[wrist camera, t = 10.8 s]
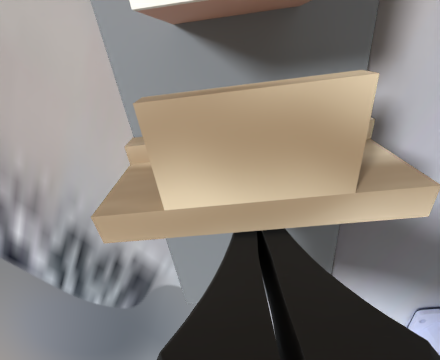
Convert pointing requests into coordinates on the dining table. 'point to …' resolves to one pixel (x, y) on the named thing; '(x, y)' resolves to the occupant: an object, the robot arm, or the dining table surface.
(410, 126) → the dining table surface
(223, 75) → the slate mat
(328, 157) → the wooden stand
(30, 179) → the dining table surface
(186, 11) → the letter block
